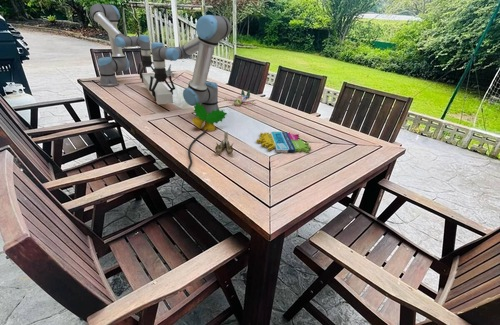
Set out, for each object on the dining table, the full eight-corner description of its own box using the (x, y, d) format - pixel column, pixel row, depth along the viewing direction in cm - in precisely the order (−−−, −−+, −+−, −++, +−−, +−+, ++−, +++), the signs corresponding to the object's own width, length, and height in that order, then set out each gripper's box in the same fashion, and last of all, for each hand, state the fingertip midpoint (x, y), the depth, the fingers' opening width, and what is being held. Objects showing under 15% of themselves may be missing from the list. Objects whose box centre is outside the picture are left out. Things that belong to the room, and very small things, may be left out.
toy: (261, 91, 228) (254, 99, 202) (261, 99, 231) (253, 108, 205) (231, 87, 233) (220, 95, 207) (230, 95, 236) (219, 104, 210)
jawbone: (234, 135, 144) (233, 125, 135) (233, 160, 138) (232, 151, 129) (217, 135, 144) (216, 125, 135) (216, 160, 138) (214, 150, 129)
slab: (173, 103, 184) (172, 93, 181) (158, 104, 180) (156, 94, 176) (153, 80, 239) (153, 73, 235) (142, 81, 234) (140, 73, 231)
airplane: (147, 74, 291) (145, 64, 286) (175, 72, 304) (174, 63, 299) (153, 82, 263) (151, 72, 257) (184, 80, 276) (183, 70, 271)
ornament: (218, 133, 171) (224, 110, 169) (221, 134, 163) (227, 111, 161) (186, 125, 162) (192, 101, 160) (189, 126, 155) (195, 101, 153)
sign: (313, 150, 142) (258, 149, 139) (312, 153, 143) (258, 152, 140) (301, 132, 164) (254, 130, 161) (301, 134, 165) (254, 133, 162)
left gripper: (159, 54, 228) (161, 80, 239) (131, 54, 218) (134, 81, 229) (161, 56, 222) (163, 82, 233) (132, 56, 212) (135, 83, 223)
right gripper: (175, 66, 184) (178, 97, 195) (140, 67, 174) (145, 100, 185) (178, 68, 178) (180, 100, 189) (142, 69, 169) (147, 102, 179)
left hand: (149, 82), depth 231 cm, fingers closed on slab, 10 cm apart
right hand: (163, 100), depth 187 cm, fingers closed on slab, 10 cm apart
